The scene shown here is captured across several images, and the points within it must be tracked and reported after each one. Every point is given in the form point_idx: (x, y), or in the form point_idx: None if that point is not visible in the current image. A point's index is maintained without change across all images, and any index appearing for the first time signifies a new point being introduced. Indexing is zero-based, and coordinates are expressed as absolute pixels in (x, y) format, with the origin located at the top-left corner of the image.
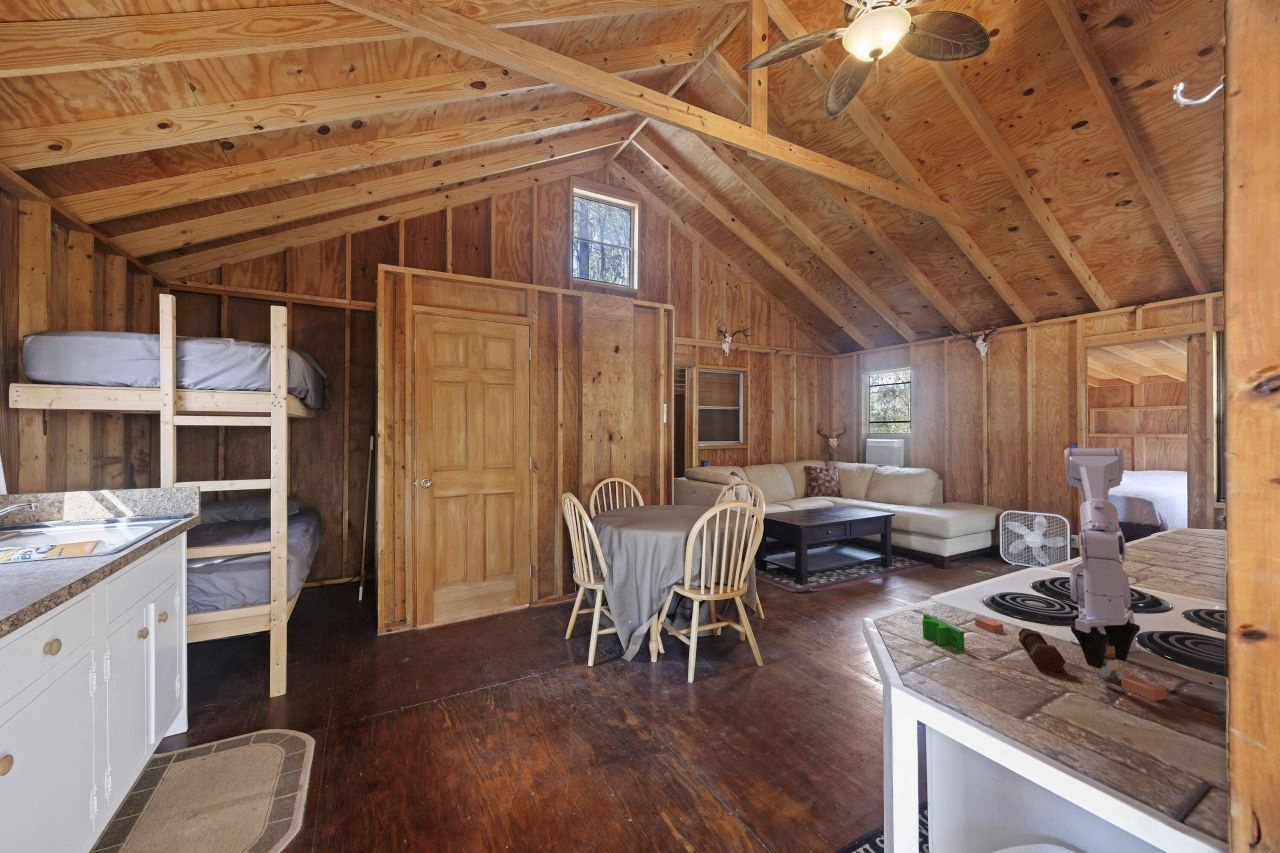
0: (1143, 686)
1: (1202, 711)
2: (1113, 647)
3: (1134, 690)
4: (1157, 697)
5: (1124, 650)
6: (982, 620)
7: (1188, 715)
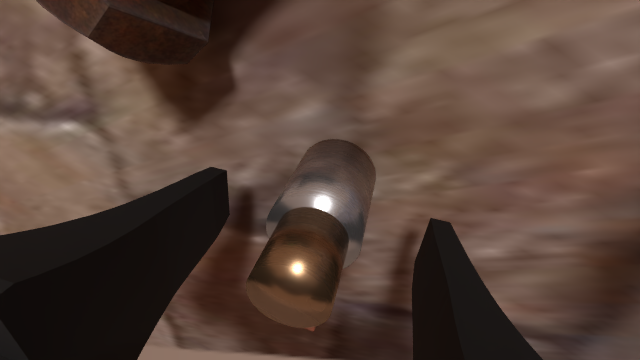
0: None
1: (319, 348)
2: (282, 321)
3: None
4: None
5: (414, 316)
6: None
7: (263, 329)
